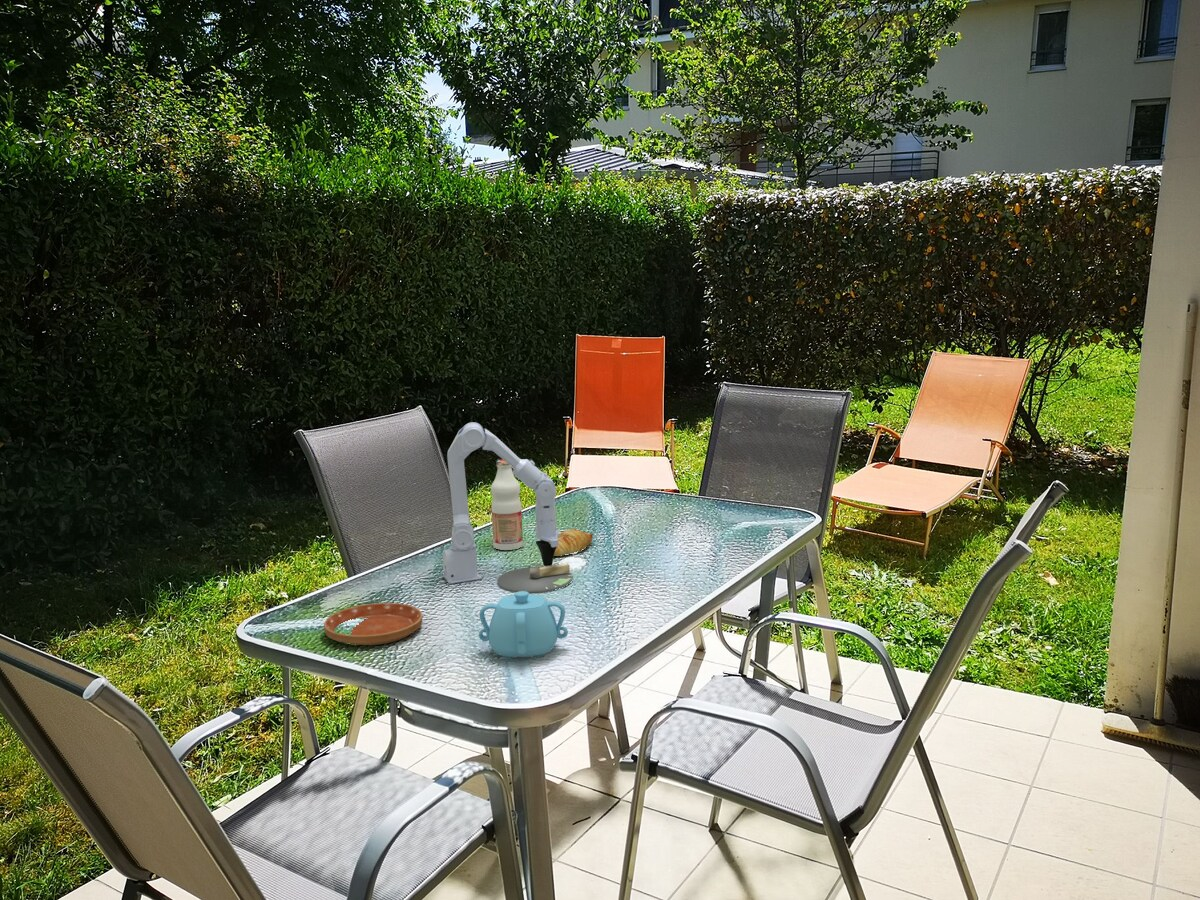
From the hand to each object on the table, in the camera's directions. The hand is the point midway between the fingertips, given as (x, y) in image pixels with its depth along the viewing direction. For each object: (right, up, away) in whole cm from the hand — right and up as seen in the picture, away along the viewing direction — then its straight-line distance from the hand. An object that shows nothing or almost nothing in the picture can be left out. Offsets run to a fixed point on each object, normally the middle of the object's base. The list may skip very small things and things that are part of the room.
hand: (547, 565), depth 260 cm
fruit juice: (-14, +2, +26) cm, 30 cm away
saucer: (-39, -11, -42) cm, 59 cm away
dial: (-3, -3, -8) cm, 9 cm away
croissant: (+6, +1, +21) cm, 22 cm away
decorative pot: (-2, -12, -56) cm, 58 cm away
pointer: (+1, -2, -6) cm, 7 cm away
